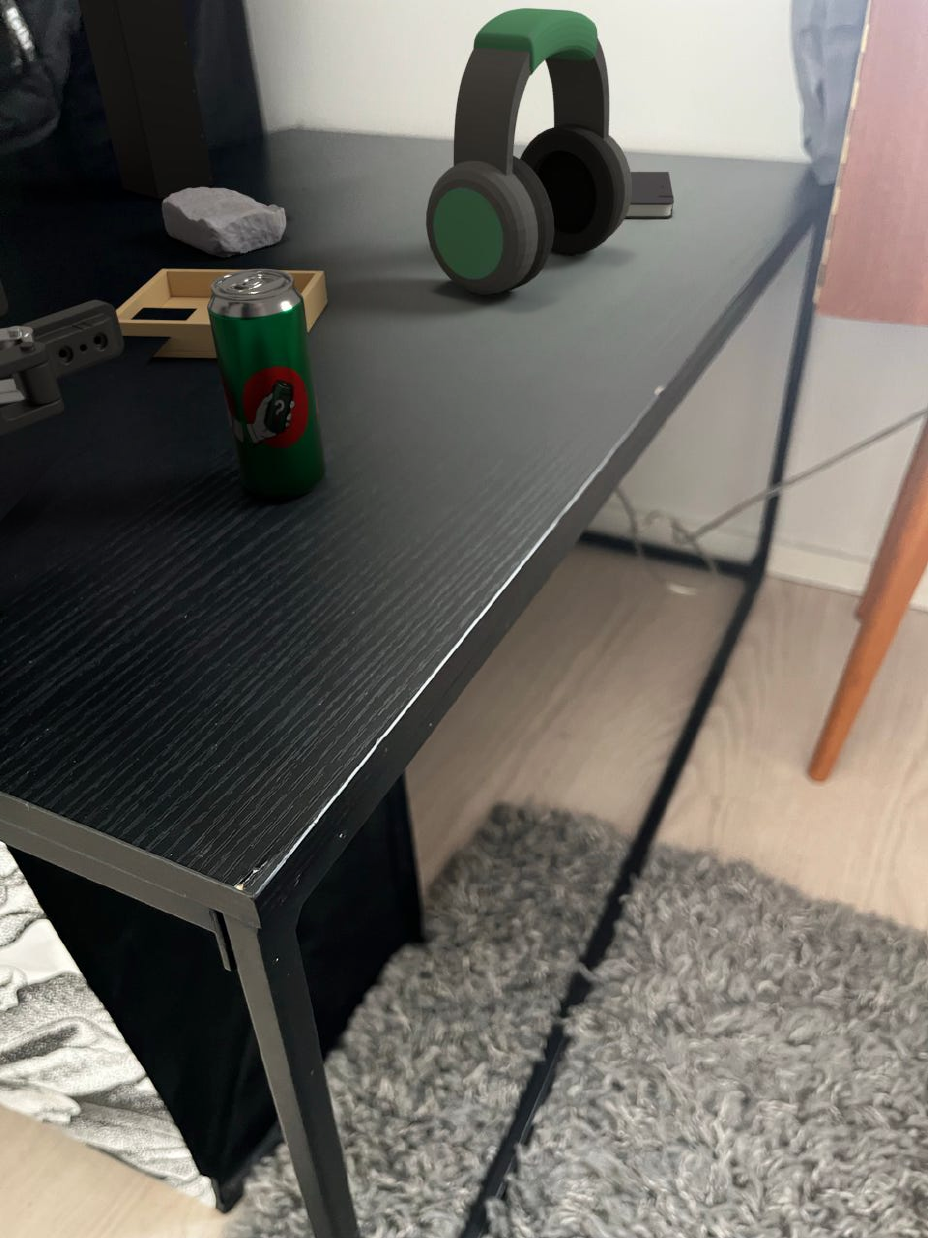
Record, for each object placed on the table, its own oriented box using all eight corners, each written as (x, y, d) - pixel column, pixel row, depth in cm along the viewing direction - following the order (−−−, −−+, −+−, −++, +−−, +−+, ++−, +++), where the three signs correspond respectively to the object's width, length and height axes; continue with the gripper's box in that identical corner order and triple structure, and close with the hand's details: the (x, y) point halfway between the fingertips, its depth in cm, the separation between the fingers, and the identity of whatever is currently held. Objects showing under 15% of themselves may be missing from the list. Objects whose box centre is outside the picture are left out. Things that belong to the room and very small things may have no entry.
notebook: (667, 186, 107) (481, 185, 109) (668, 171, 106) (481, 171, 108) (672, 218, 97) (468, 217, 99) (674, 202, 96) (468, 201, 98)
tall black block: (158, 200, 108) (91, -108, 90) (121, 189, 112) (51, -107, 94) (215, 186, 112) (162, -111, 95) (178, 176, 116) (120, -110, 99)
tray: (112, 356, 72) (102, 321, 71) (168, 299, 82) (161, 268, 80) (290, 360, 71) (285, 325, 69) (327, 302, 80) (324, 270, 79)
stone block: (241, 233, 102) (155, 233, 96) (242, 185, 100) (154, 183, 94) (302, 261, 96) (213, 264, 89) (305, 211, 93) (214, 210, 87)
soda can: (344, 474, 57) (320, 275, 50) (288, 512, 54) (253, 305, 46) (281, 454, 59) (250, 260, 52) (224, 489, 56) (182, 287, 49)
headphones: (522, 314, 77) (526, 28, 64) (419, 289, 82) (404, 20, 70) (635, 252, 89) (658, 0, 76) (539, 234, 94) (545, -5, 81)
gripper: (-364, 396, 25) (137, 240, 35) (-521, 297, 32) (-65, 191, 42) (-227, 620, 29) (180, 425, 39) (-390, 491, 36) (-9, 353, 46)
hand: (53, 305), depth 41 cm, fingers open, 8 cm apart
